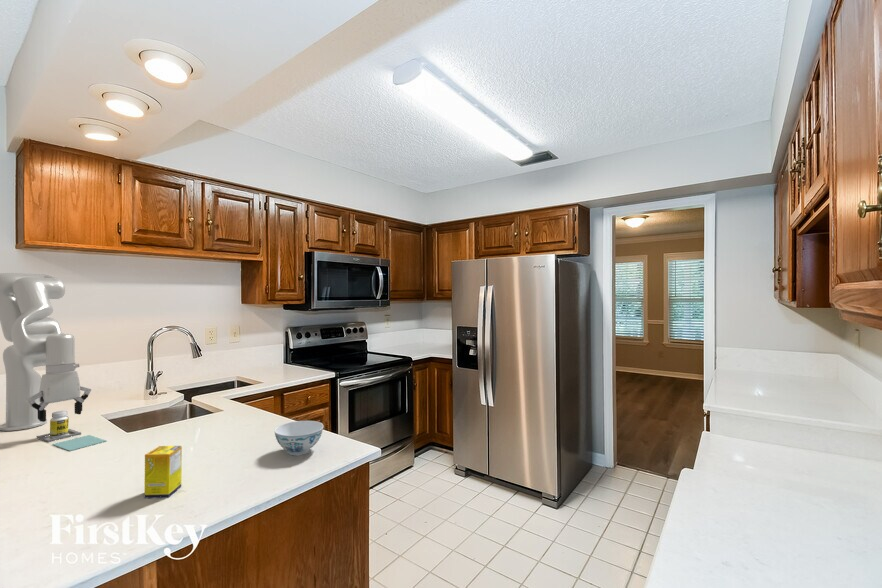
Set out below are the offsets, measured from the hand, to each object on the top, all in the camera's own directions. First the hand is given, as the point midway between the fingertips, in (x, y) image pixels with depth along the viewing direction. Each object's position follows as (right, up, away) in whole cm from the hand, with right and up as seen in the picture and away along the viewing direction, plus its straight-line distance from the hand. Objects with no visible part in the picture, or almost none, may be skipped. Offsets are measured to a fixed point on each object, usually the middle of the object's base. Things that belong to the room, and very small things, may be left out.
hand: (60, 417), depth 143 cm
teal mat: (+13, -7, -6) cm, 16 cm away
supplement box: (+64, -7, -40) cm, 76 cm away
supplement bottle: (-1, -7, 0) cm, 7 cm away
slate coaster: (-1, -7, 0) cm, 7 cm away
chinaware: (+89, -8, -12) cm, 90 cm away
